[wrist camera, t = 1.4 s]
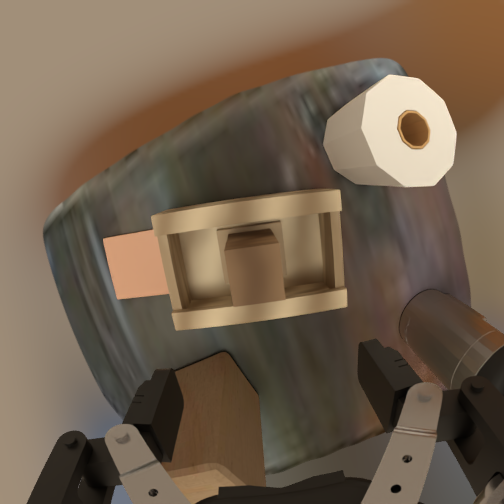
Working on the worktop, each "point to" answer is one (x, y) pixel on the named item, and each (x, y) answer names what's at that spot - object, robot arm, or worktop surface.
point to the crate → (249, 219)
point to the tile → (136, 264)
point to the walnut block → (254, 267)
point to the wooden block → (216, 430)
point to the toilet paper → (392, 135)
